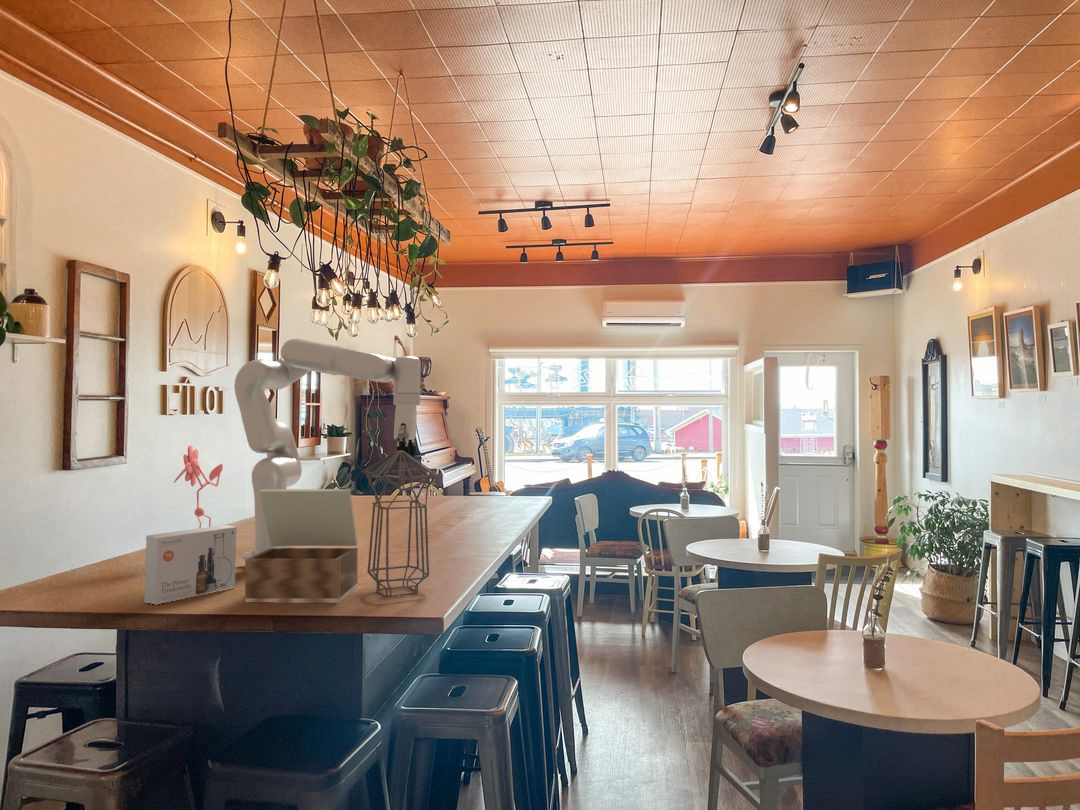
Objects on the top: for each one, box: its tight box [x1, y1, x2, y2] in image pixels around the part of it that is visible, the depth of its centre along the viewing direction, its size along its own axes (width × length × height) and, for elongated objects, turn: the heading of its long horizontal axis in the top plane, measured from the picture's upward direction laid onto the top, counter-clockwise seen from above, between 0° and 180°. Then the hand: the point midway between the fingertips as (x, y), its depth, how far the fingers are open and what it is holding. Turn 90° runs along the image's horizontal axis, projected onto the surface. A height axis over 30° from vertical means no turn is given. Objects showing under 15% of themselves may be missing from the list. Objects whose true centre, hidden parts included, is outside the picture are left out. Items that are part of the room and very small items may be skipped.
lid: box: [260, 488, 358, 547], centre depth 185 cm, size 22×16×1 cm
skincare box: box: [143, 524, 238, 605], centre depth 180 cm, size 21×5×16 cm, turn 148°
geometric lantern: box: [360, 450, 439, 598], centre depth 182 cm, size 16×16×35 cm
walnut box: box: [244, 547, 359, 604], centre depth 181 cm, size 22×16×10 cm
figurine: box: [173, 444, 224, 529], centre depth 224 cm, size 15×26×35 cm, turn 5°
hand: (406, 459), depth 211 cm, fingers open, 9 cm apart
